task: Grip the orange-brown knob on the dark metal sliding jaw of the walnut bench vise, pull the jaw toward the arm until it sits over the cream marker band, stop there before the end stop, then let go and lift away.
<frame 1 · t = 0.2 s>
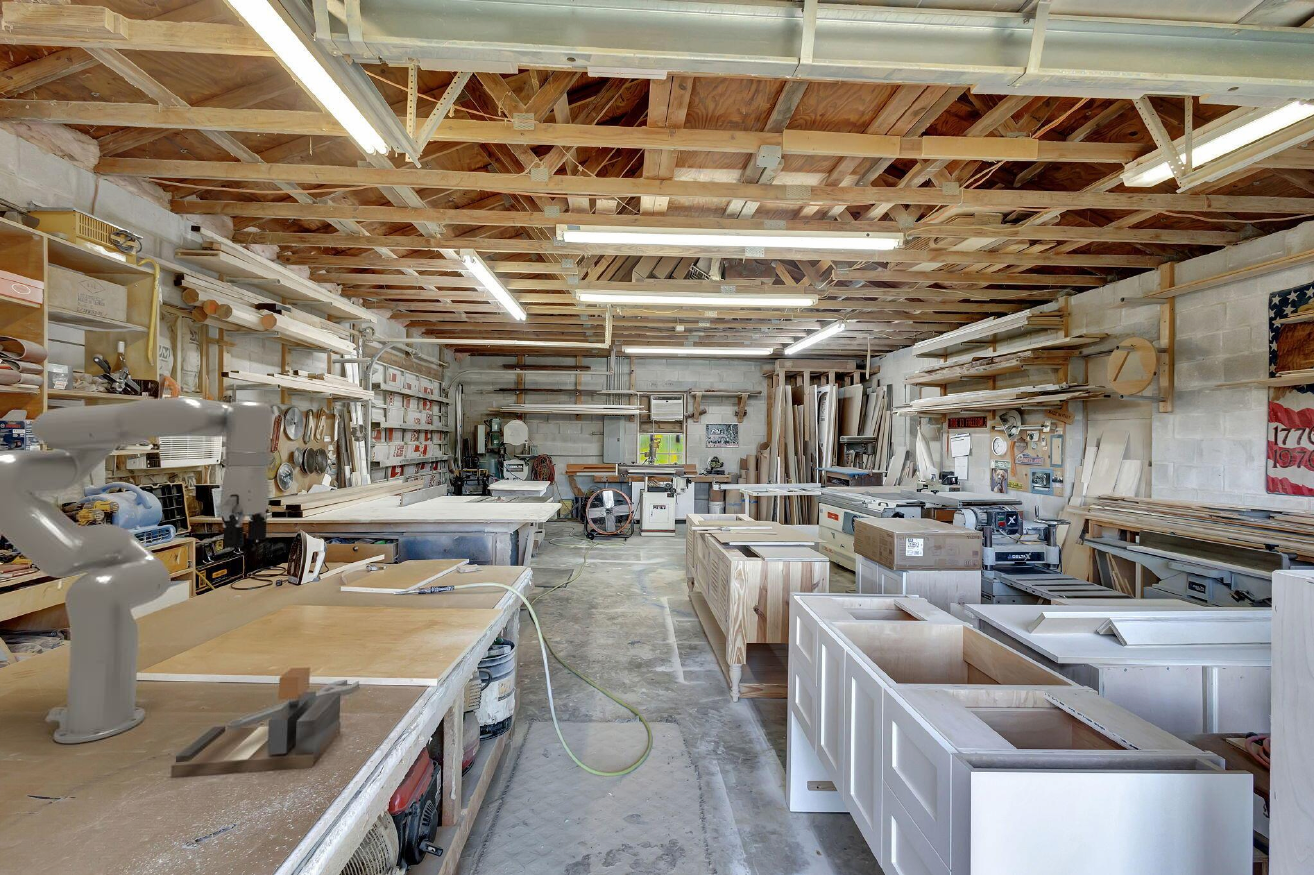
hand: (245, 543, 111), 36 cm above the workbench, tool pointing down, fingers open, 9 cm apart
sliding jaw: (293, 704, 100), point 8 cm above the workbench, slide at 0.0 cm
adjustable wrench: (297, 707, 118), on the workbench
bench vise: (262, 753, 99), on the workbench
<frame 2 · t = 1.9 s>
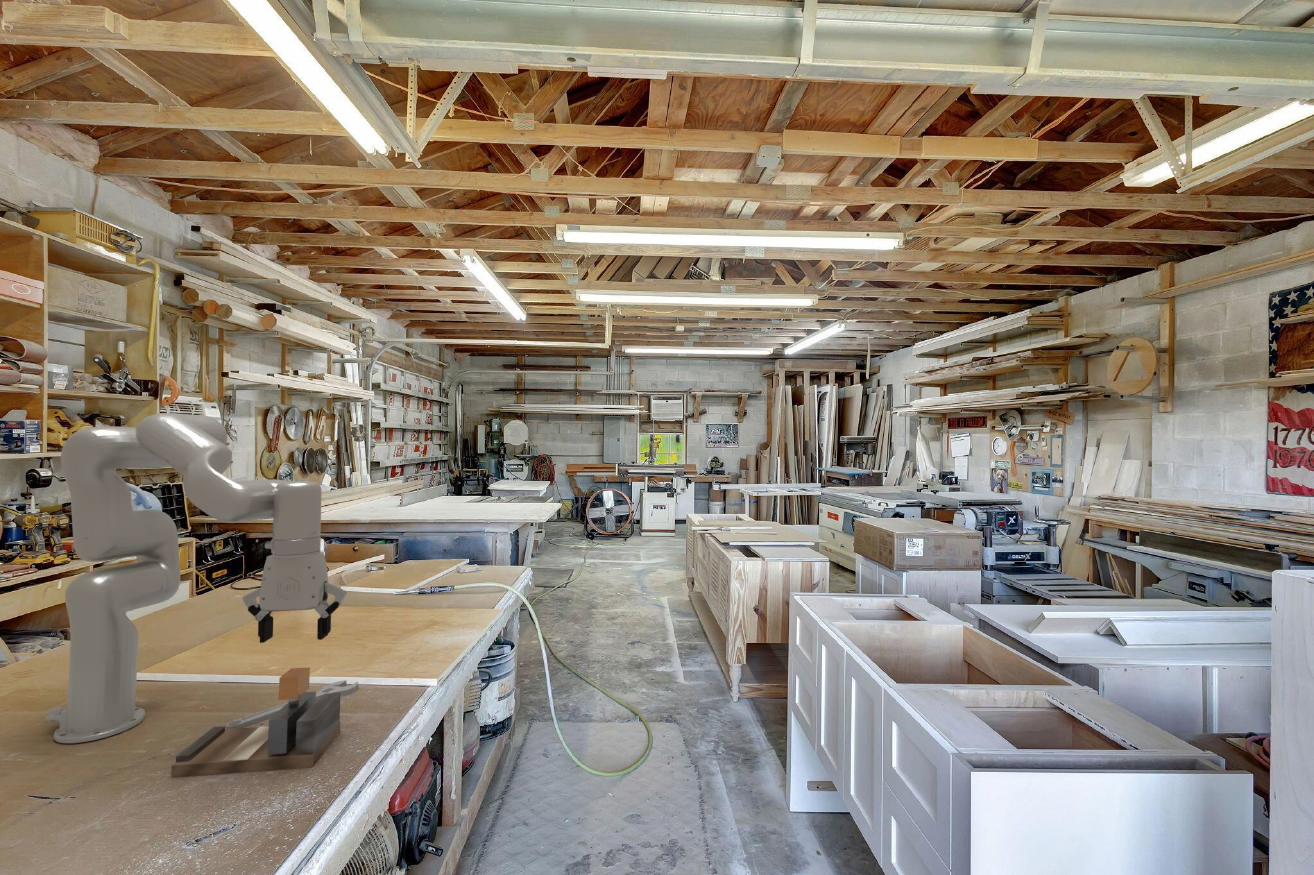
hand: (294, 638, 100), 21 cm above the workbench, tool pointing down, fingers open, 9 cm apart
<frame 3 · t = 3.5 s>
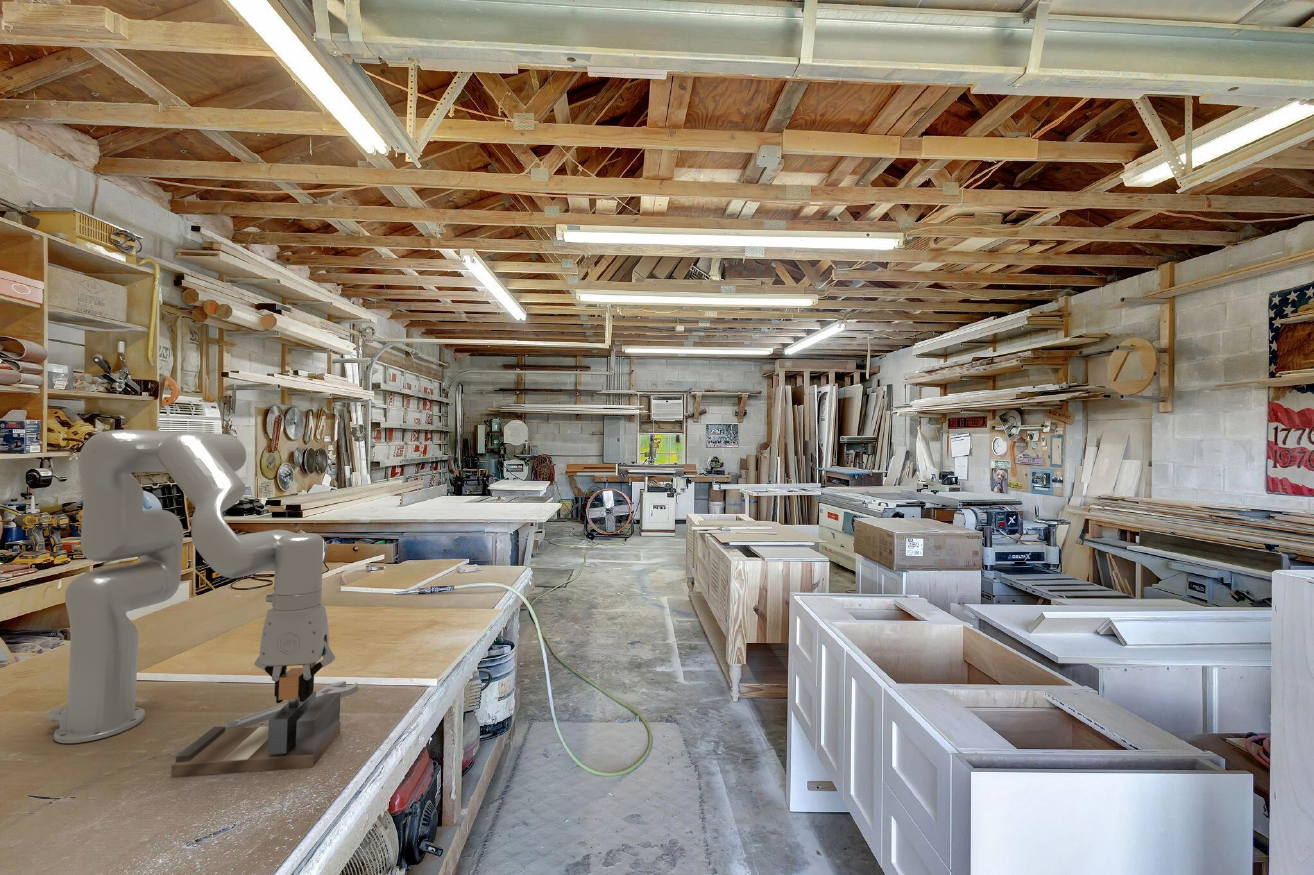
hand: (294, 698, 100), 10 cm above the workbench, tool pointing down, fingers closed on sliding jaw, 3 cm apart
sliding jaw: (293, 704, 100), point 8 cm above the workbench, slide at 0.0 cm, touching gripper
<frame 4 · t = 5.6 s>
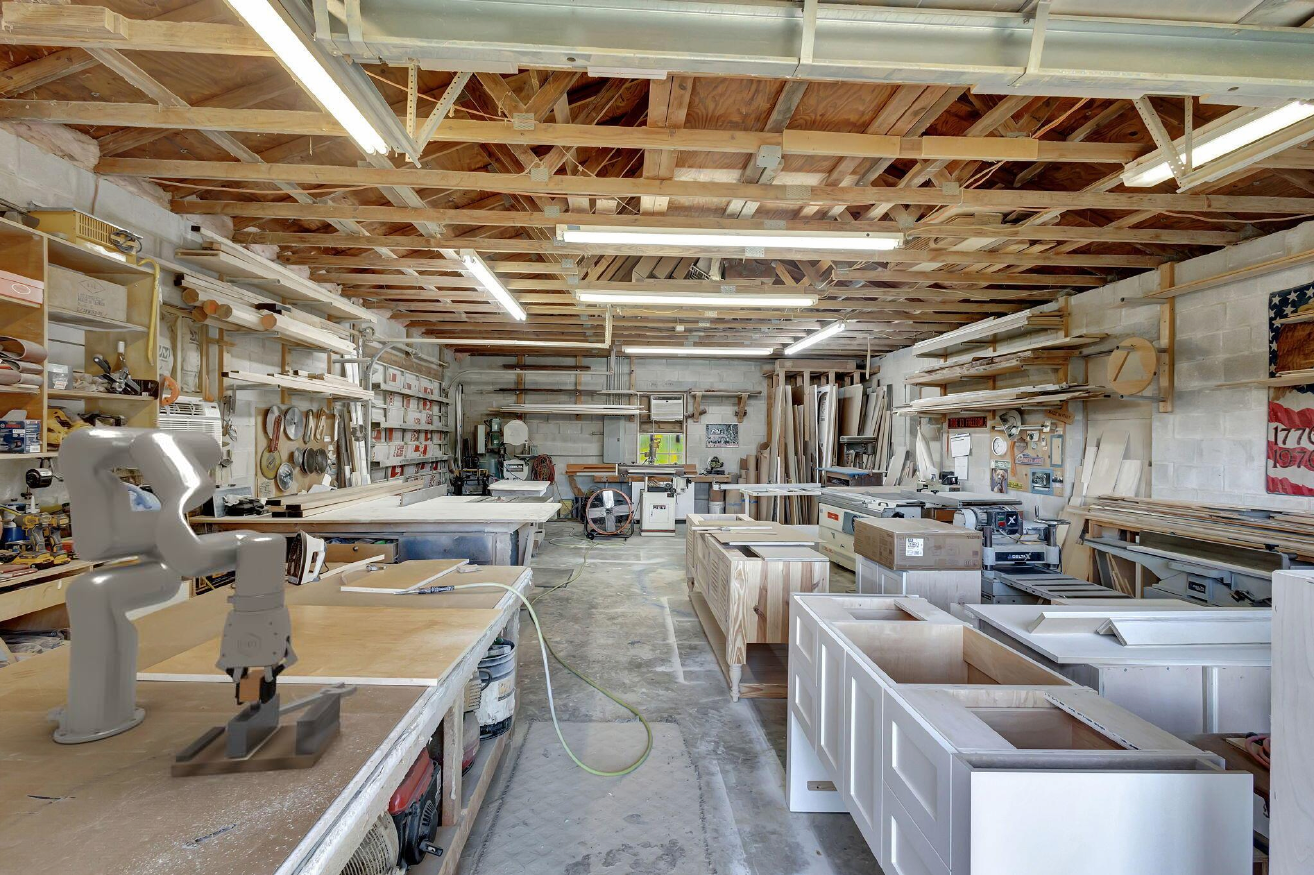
hand: (255, 700, 99), 10 cm above the workbench, tool pointing down, fingers closed on sliding jaw, 3 cm apart
sliding jaw: (255, 706, 99), point 8 cm above the workbench, slide at 6.4 cm, touching gripper
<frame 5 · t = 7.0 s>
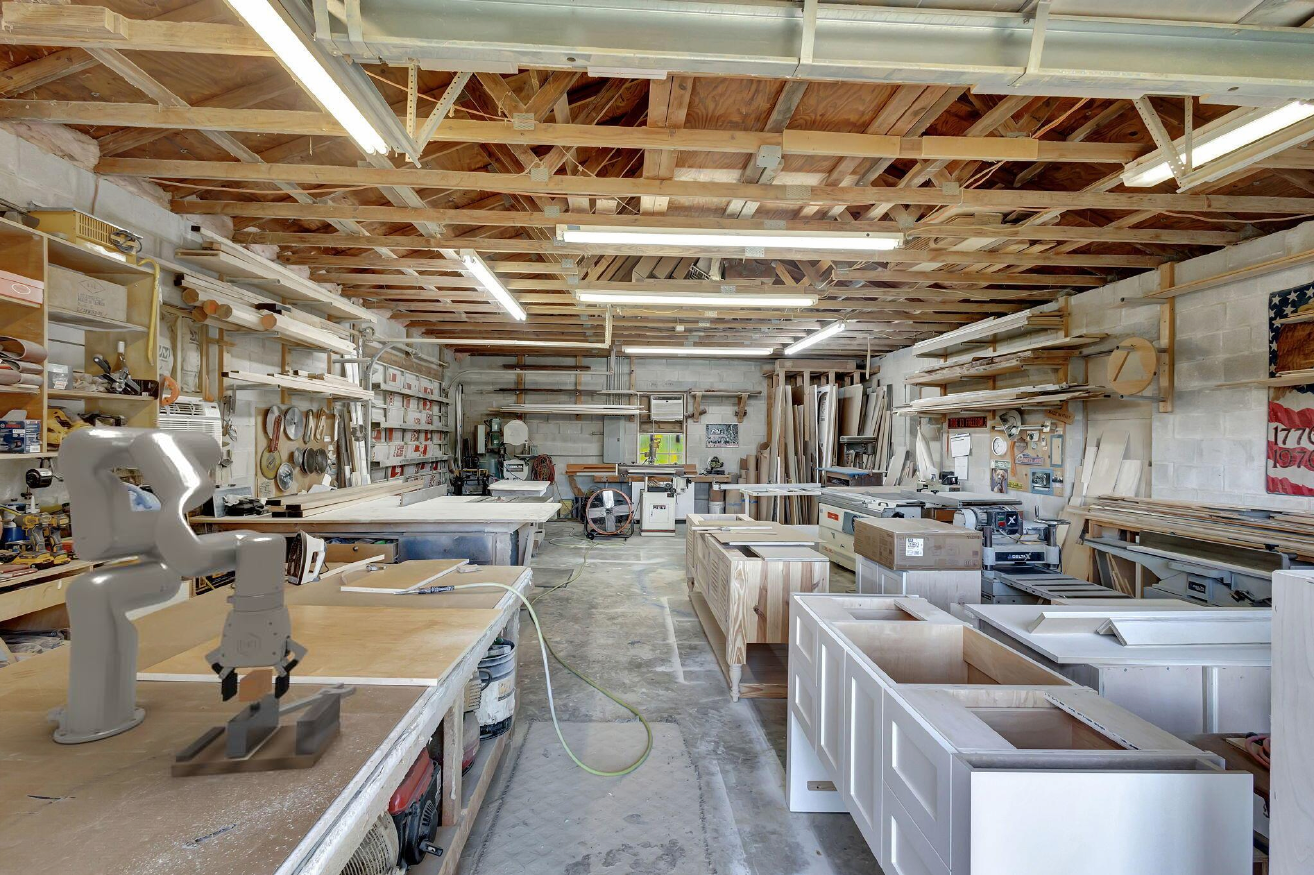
hand: (255, 696, 99), 10 cm above the workbench, tool pointing down, fingers open, 8 cm apart
sliding jaw: (255, 706, 99), point 8 cm above the workbench, slide at 6.5 cm
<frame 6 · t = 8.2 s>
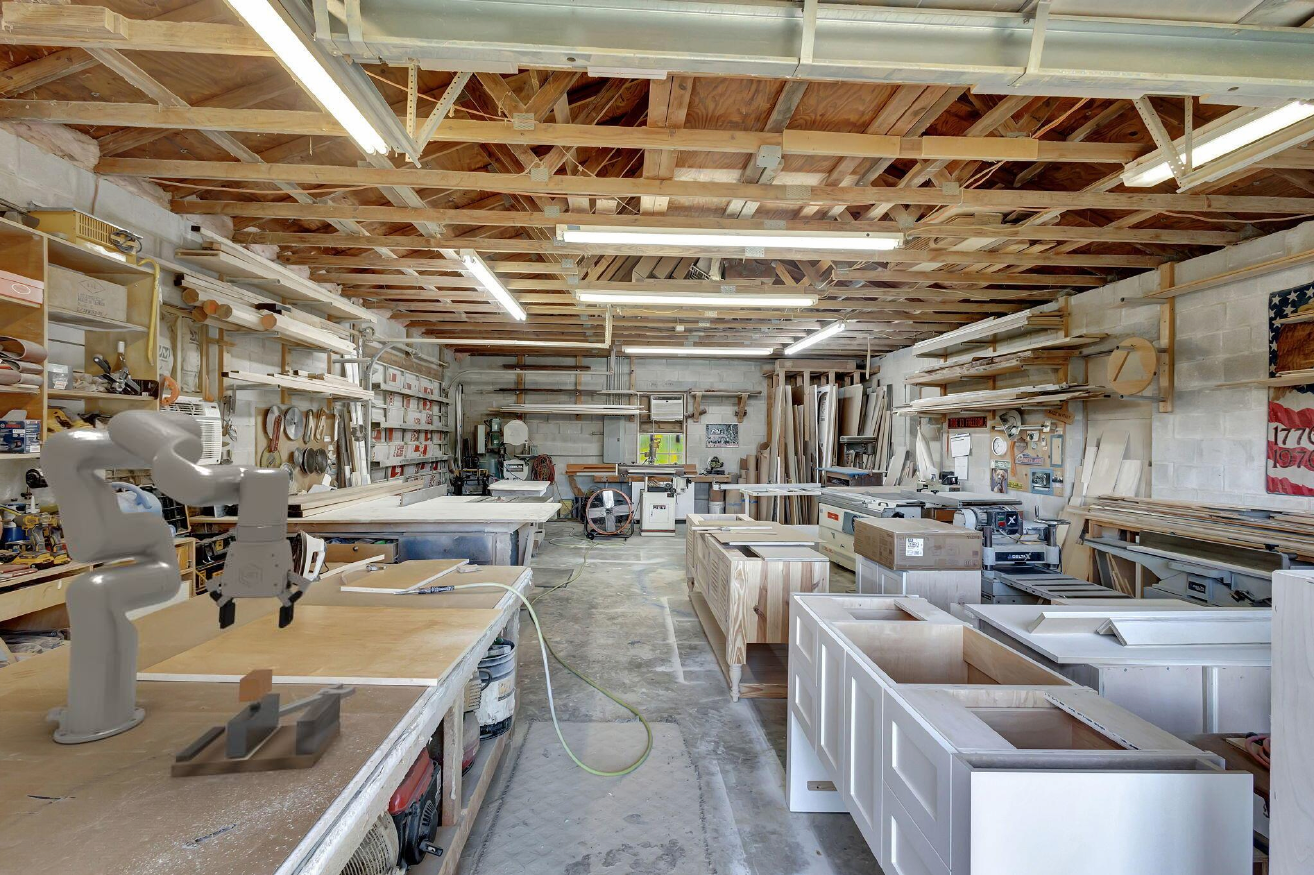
hand: (256, 626, 100), 23 cm above the workbench, tool pointing down, fingers open, 9 cm apart
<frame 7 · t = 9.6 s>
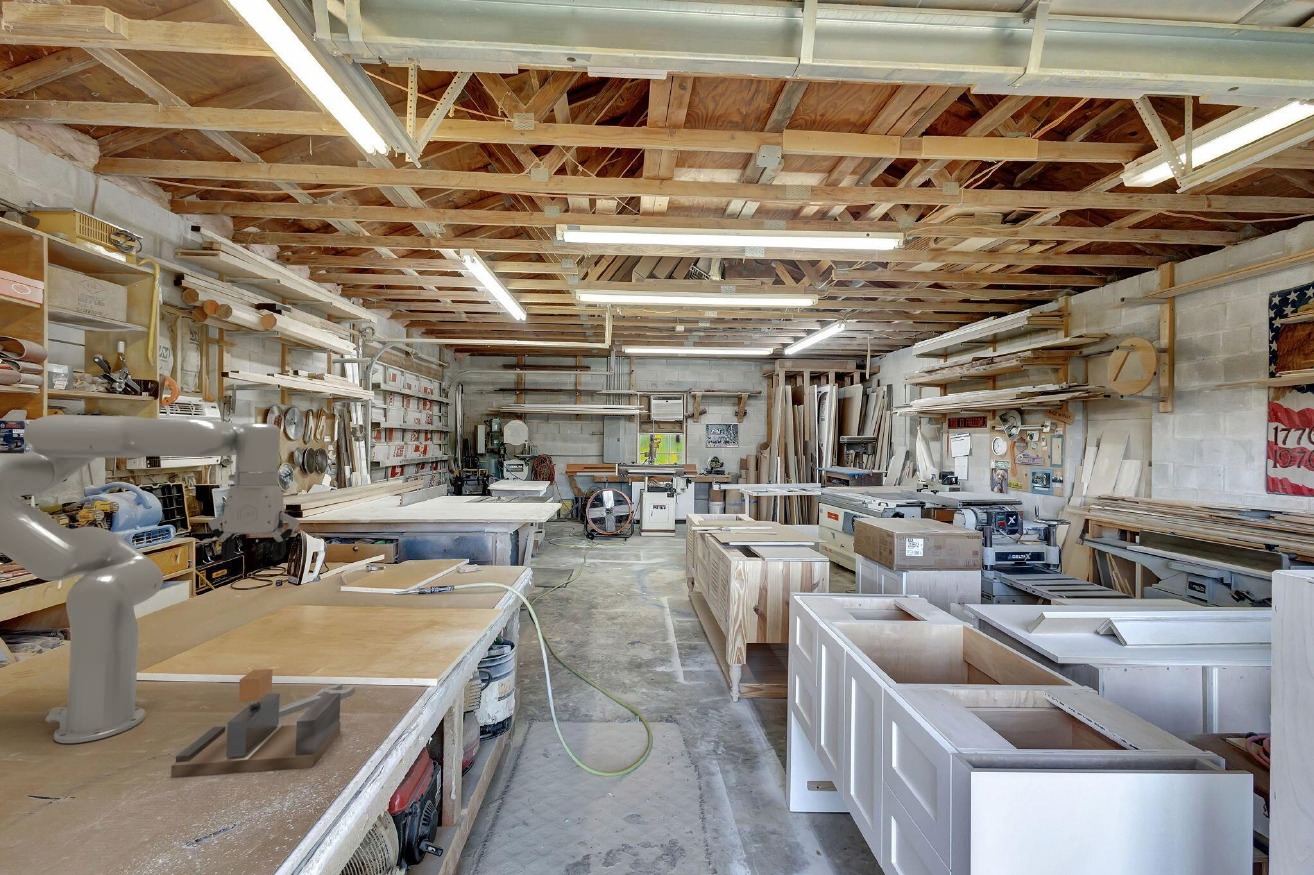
hand: (253, 559, 115), 32 cm above the workbench, tool pointing down, fingers open, 9 cm apart
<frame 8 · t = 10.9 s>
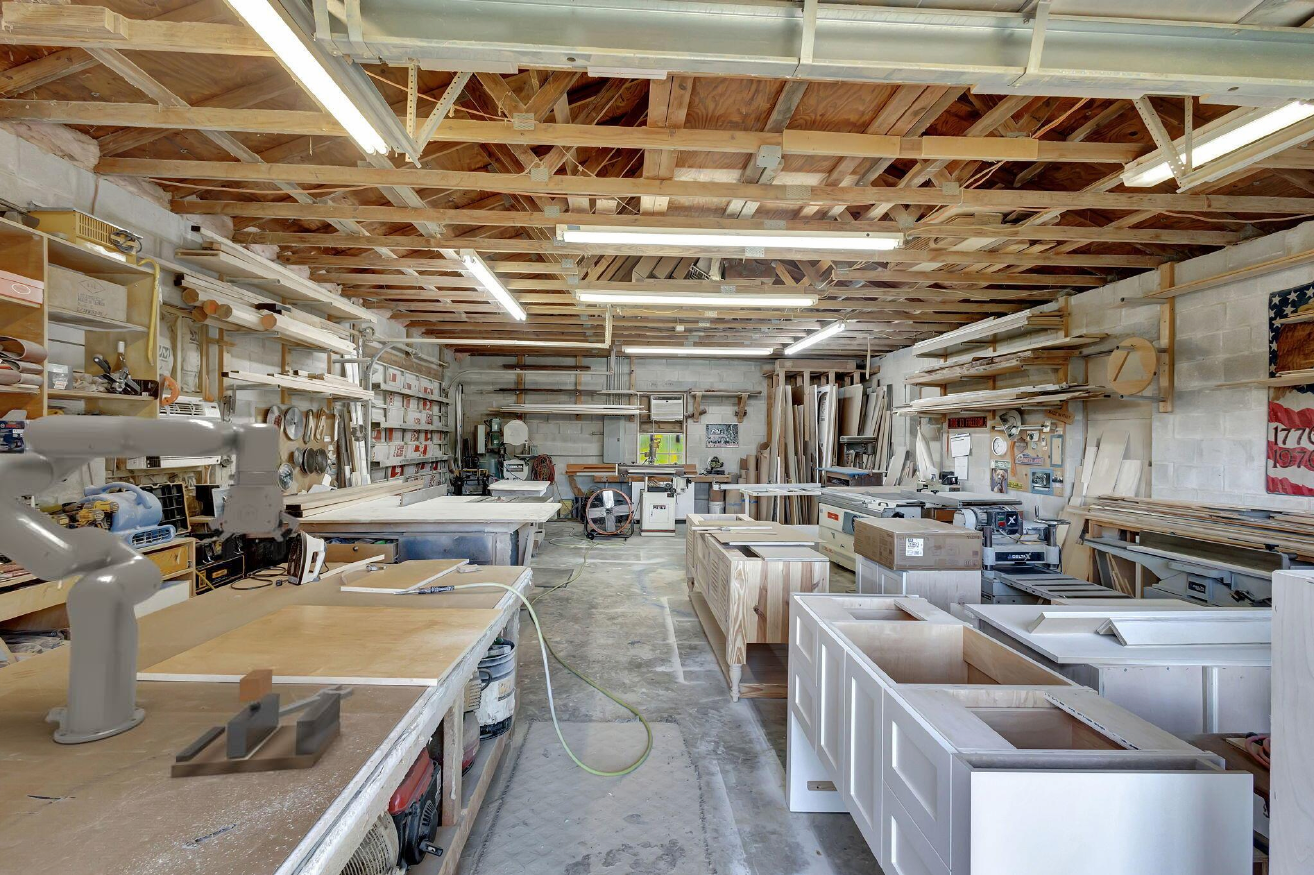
hand: (253, 559, 116), 32 cm above the workbench, tool pointing down, fingers open, 9 cm apart
at the end: sliding jaw slide at 6.5 cm; the gripper is holding nothing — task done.
